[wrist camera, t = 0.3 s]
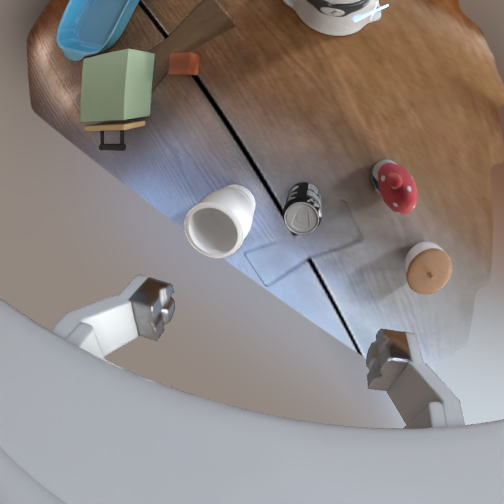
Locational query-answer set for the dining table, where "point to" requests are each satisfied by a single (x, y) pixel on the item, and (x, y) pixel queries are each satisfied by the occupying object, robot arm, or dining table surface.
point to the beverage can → (303, 209)
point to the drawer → (114, 126)
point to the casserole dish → (92, 26)
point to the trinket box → (427, 267)
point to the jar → (220, 221)
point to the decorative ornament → (394, 186)
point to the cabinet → (116, 86)
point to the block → (183, 63)
